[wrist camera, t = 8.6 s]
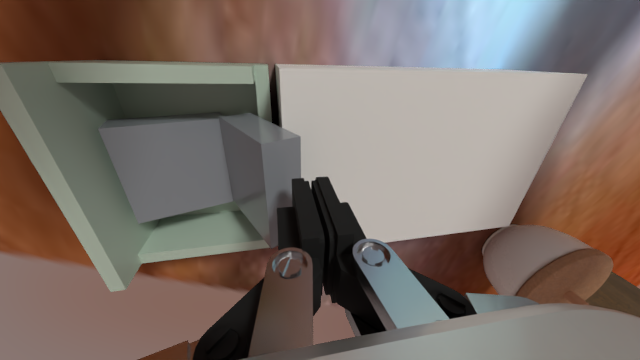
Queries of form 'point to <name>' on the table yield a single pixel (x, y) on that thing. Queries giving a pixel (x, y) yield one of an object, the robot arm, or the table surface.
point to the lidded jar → (543, 265)
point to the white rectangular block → (424, 140)
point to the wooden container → (617, 296)
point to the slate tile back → (169, 163)
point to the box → (95, 163)
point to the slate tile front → (260, 168)
